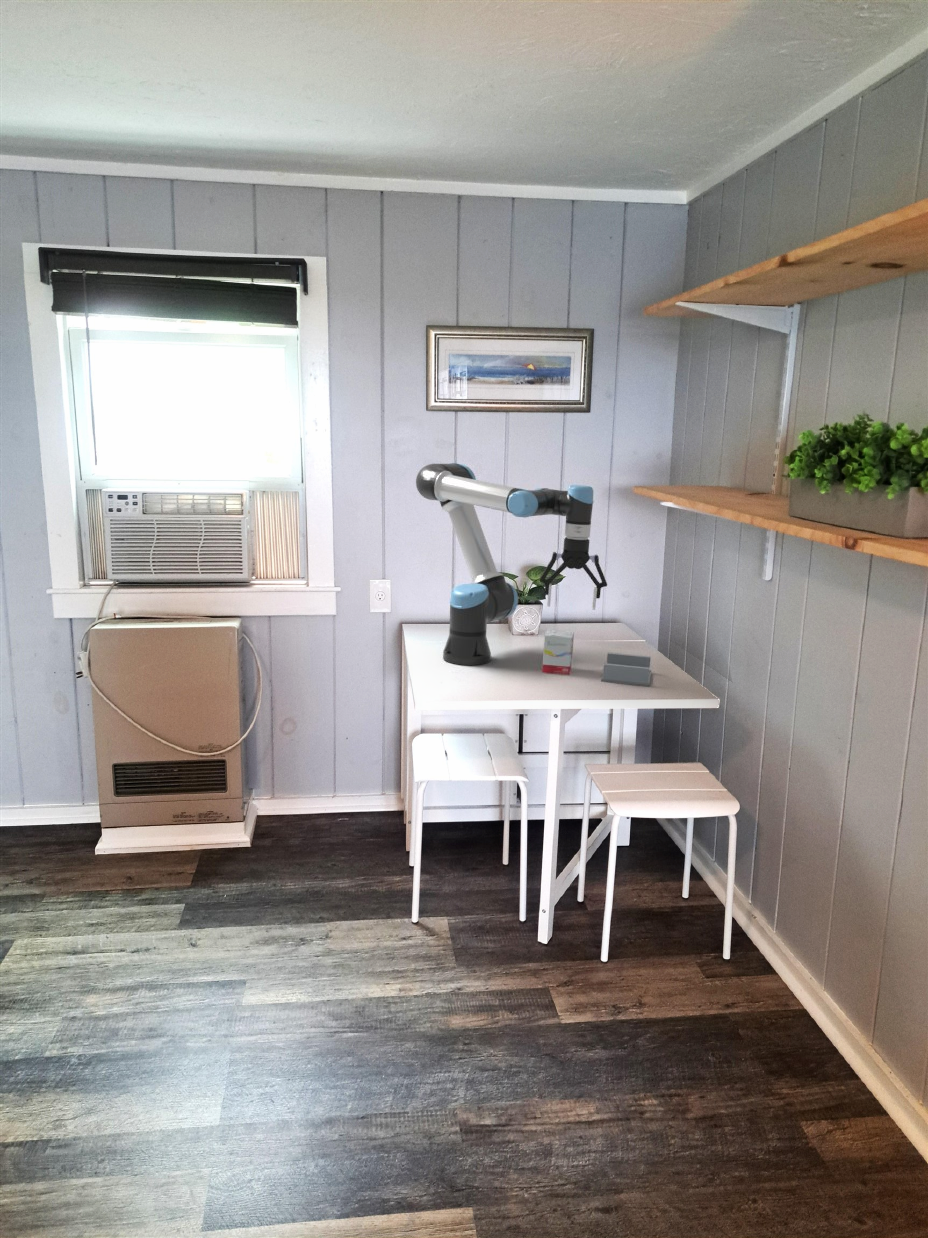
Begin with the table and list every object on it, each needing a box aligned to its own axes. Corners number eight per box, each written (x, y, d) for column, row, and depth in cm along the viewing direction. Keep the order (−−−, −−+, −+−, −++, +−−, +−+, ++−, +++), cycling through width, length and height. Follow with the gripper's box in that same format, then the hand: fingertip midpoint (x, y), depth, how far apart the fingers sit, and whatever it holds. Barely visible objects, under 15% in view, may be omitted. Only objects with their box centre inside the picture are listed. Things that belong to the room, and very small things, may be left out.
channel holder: (600, 681, 247) (602, 664, 246) (605, 668, 262) (606, 652, 261) (649, 686, 244) (650, 669, 243) (650, 672, 258) (652, 656, 257)
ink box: (569, 675, 253) (572, 637, 250) (541, 672, 254) (543, 634, 252) (572, 667, 261) (574, 630, 259) (544, 665, 263) (546, 628, 260)
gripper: (535, 536, 248) (530, 606, 253) (620, 542, 246) (613, 612, 251) (535, 533, 255) (530, 601, 260) (617, 538, 254) (611, 607, 259)
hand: (571, 607), depth 256 cm, fingers open, 13 cm apart
